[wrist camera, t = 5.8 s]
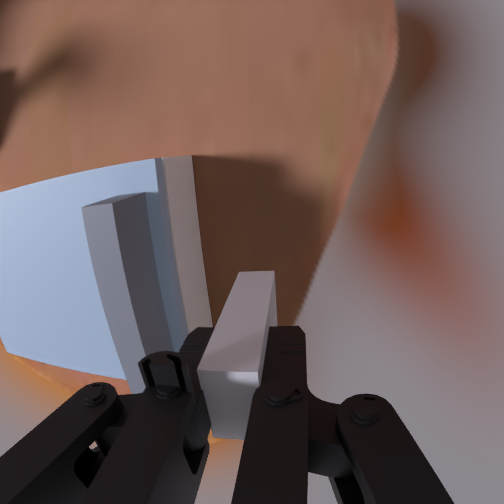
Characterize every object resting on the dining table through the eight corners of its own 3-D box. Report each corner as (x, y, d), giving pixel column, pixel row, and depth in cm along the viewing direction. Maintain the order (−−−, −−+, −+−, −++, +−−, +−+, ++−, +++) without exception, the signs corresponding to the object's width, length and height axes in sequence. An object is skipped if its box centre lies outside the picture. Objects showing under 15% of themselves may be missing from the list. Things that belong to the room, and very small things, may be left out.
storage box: (41, 323, 25) (14, 346, 21) (9, 191, 21) (-27, 201, 17) (214, 338, 23) (198, 376, 18) (191, 155, 19) (163, 157, 15)
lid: (12, 347, 21) (-14, 370, 17) (-30, 202, 17) (-65, 213, 13) (197, 379, 18) (179, 423, 15) (161, 157, 14) (122, 161, 11)
